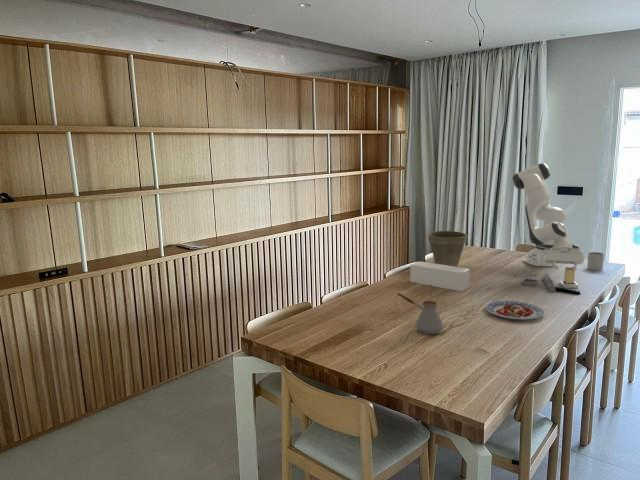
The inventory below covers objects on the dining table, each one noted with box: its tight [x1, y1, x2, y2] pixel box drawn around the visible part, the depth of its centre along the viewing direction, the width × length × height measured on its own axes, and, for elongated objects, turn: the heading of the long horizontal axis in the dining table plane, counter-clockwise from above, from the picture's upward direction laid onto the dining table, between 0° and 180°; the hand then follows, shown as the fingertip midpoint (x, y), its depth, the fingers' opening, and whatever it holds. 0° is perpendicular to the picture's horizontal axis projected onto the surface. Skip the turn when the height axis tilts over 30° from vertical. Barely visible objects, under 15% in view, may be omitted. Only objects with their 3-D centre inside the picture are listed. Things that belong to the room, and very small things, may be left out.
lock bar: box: [563, 266, 576, 284], centre depth 261 cm, size 4×4×10 cm
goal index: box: [520, 277, 539, 287], centre depth 268 cm, size 8×8×2 cm
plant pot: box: [428, 230, 468, 267], centre depth 314 cm, size 25×25×22 cm
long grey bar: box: [542, 273, 556, 293], centre depth 265 cm, size 26×3×3 cm, turn 161°
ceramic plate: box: [485, 300, 545, 320], centre depth 222 cm, size 26×26×3 cm
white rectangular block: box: [409, 260, 471, 292], centre depth 272 cm, size 32×11×11 cm, turn 49°
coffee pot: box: [396, 292, 444, 336], centre depth 204 cm, size 21×12×15 cm, turn 55°
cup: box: [586, 251, 605, 272], centre depth 296 cm, size 8×8×10 cm
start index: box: [559, 280, 579, 289], centre depth 262 cm, size 8×8×2 cm
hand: (565, 269), depth 264 cm, fingers open, 8 cm apart
